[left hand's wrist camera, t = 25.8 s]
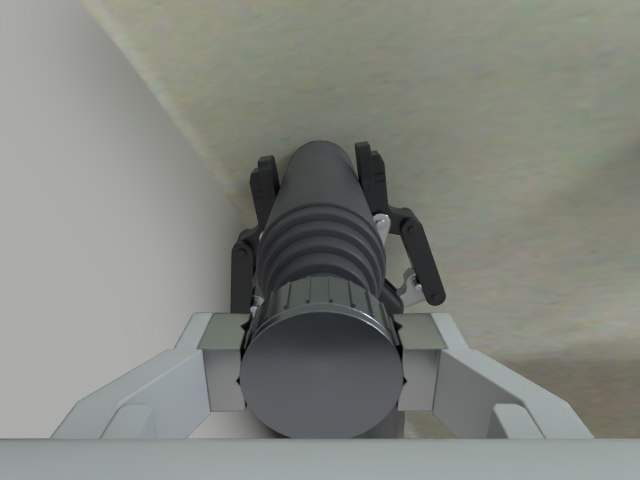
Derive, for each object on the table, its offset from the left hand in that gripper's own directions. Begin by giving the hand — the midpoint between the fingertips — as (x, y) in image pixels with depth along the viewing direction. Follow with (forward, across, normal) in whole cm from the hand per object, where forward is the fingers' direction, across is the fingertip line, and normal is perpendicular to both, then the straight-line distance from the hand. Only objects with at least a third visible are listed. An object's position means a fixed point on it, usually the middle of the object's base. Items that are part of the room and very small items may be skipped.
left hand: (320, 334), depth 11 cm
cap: (-2, 0, 0) cm, 2 cm away
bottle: (+20, 0, 0) cm, 20 cm away
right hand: (+14, 0, -3) cm, 14 cm away
